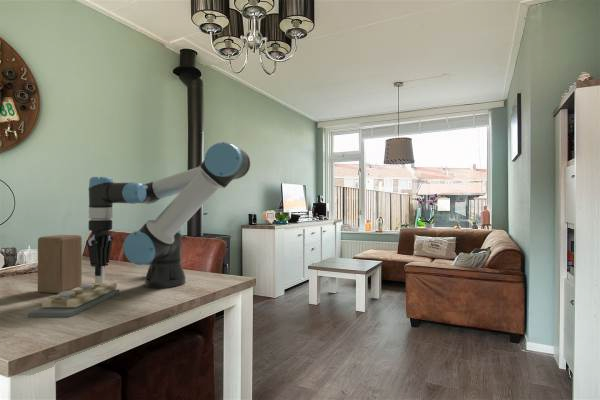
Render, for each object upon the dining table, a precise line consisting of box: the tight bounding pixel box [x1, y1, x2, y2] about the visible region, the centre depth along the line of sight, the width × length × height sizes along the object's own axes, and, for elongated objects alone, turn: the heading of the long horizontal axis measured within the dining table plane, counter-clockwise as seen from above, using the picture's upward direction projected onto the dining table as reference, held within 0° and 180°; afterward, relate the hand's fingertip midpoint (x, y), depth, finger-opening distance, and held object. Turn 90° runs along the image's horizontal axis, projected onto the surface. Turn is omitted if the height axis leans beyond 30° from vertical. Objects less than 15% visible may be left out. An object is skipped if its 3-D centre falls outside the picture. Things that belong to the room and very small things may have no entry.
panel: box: [41, 282, 117, 307], centre depth 113 cm, size 22×10×2 cm, turn 0°
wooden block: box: [37, 234, 83, 294], centre depth 128 cm, size 10×10×20 cm
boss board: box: [27, 282, 120, 318], centre depth 111 cm, size 26×12×5 cm, turn 0°
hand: (99, 284), depth 126 cm, fingers closed
